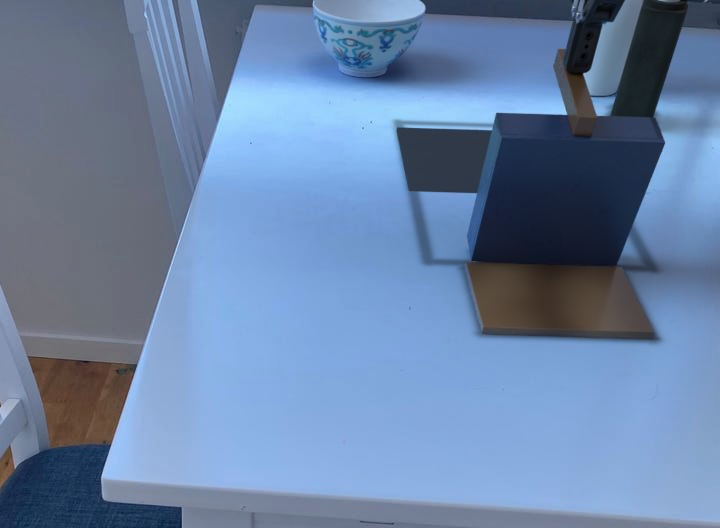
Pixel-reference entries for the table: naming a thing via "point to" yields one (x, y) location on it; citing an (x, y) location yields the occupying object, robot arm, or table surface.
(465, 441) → the table surface
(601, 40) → the cup
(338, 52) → the chinaware
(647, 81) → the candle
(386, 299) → the table surface
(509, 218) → the tray
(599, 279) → the stand
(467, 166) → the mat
